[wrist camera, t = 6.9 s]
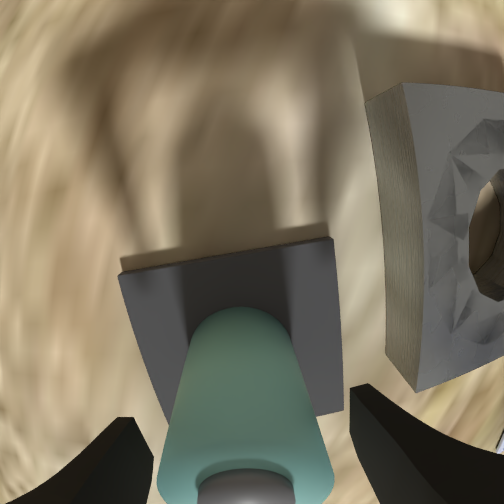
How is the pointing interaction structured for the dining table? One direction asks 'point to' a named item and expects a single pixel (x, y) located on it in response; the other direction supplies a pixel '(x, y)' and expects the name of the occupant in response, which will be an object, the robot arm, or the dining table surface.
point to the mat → (242, 295)
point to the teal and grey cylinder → (243, 419)
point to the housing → (438, 227)
